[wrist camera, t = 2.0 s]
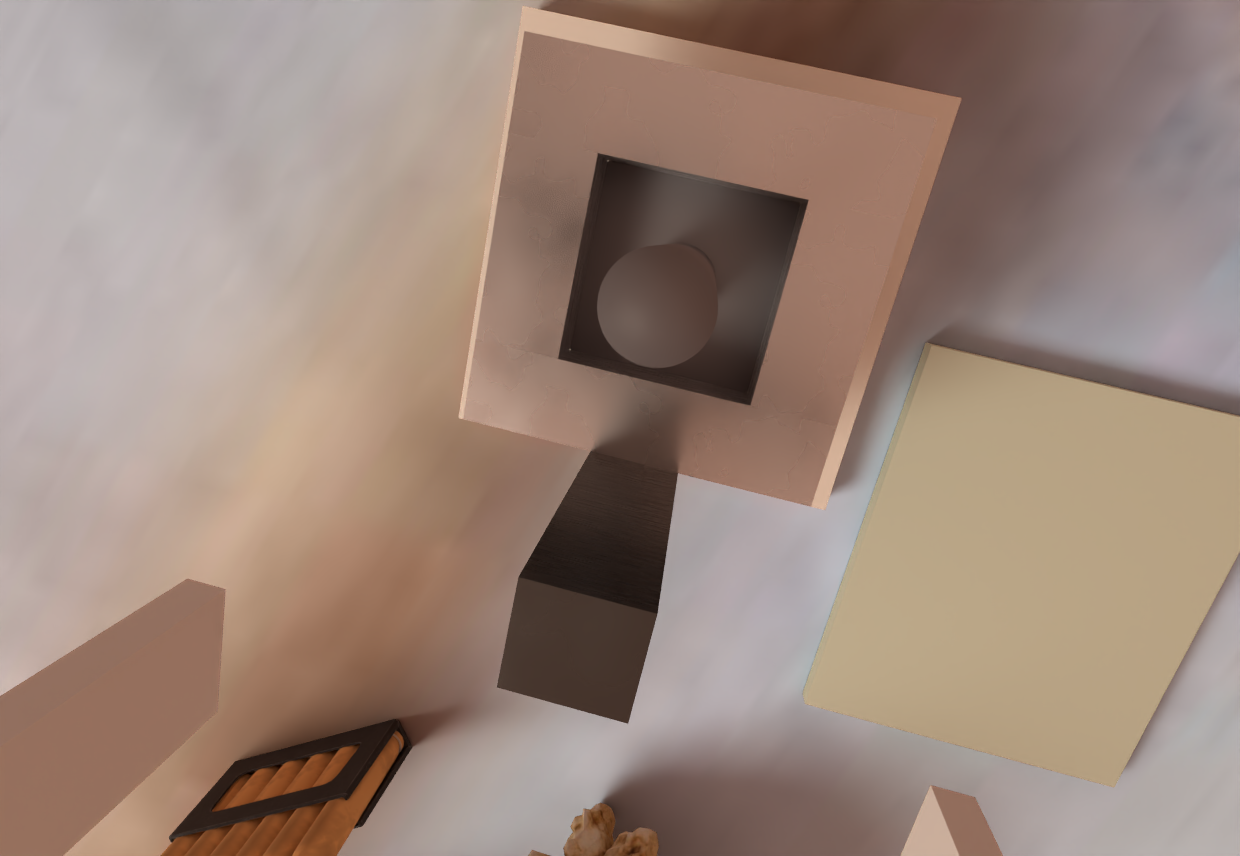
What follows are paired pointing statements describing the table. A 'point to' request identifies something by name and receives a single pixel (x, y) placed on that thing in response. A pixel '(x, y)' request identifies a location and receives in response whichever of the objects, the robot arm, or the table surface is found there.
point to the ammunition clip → (295, 797)
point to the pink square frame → (648, 399)
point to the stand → (709, 235)
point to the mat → (1031, 563)
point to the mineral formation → (606, 837)
